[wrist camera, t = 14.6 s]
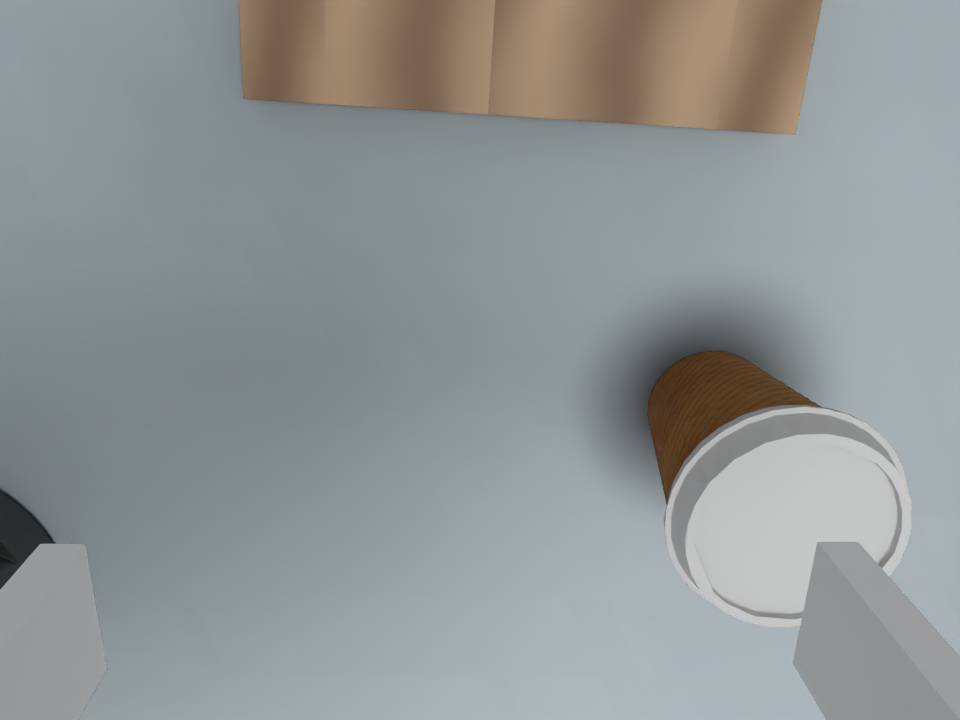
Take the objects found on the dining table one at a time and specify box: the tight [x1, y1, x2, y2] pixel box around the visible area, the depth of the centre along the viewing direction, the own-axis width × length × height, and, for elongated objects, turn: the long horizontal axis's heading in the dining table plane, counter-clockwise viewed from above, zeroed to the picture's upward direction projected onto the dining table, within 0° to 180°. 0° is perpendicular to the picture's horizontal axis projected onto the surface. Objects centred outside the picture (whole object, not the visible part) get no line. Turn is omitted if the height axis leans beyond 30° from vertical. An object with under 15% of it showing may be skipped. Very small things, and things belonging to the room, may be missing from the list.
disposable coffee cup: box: [648, 351, 912, 627], centre depth 35 cm, size 10×10×12 cm
